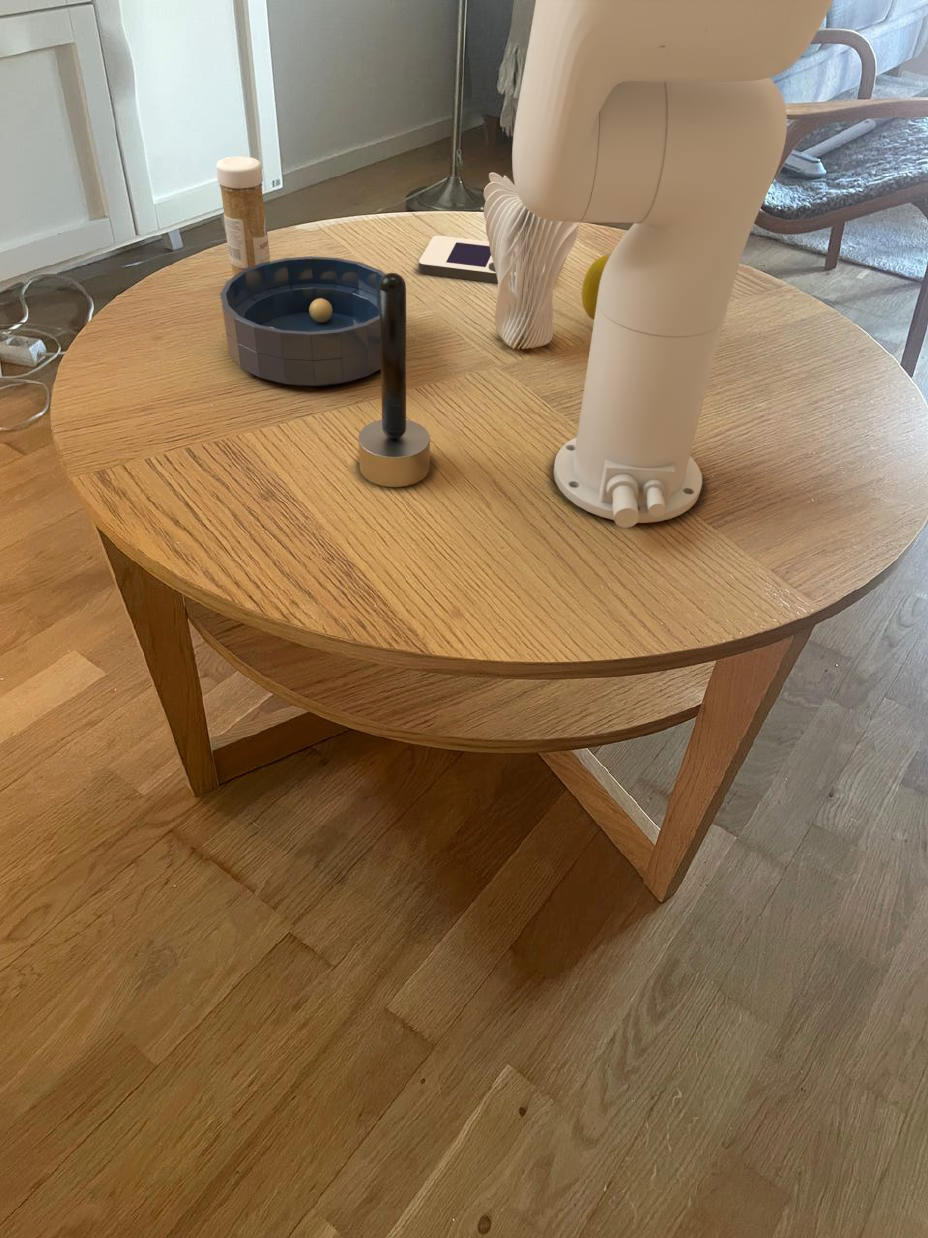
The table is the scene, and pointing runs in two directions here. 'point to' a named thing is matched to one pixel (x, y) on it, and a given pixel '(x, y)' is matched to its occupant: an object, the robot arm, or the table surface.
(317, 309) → the bean
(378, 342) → the bowl
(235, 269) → the sprinkles bottle
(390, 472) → the weighted rod stand
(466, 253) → the handheld game console
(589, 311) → the lemon
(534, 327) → the shell sculpture
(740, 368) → the table surface
